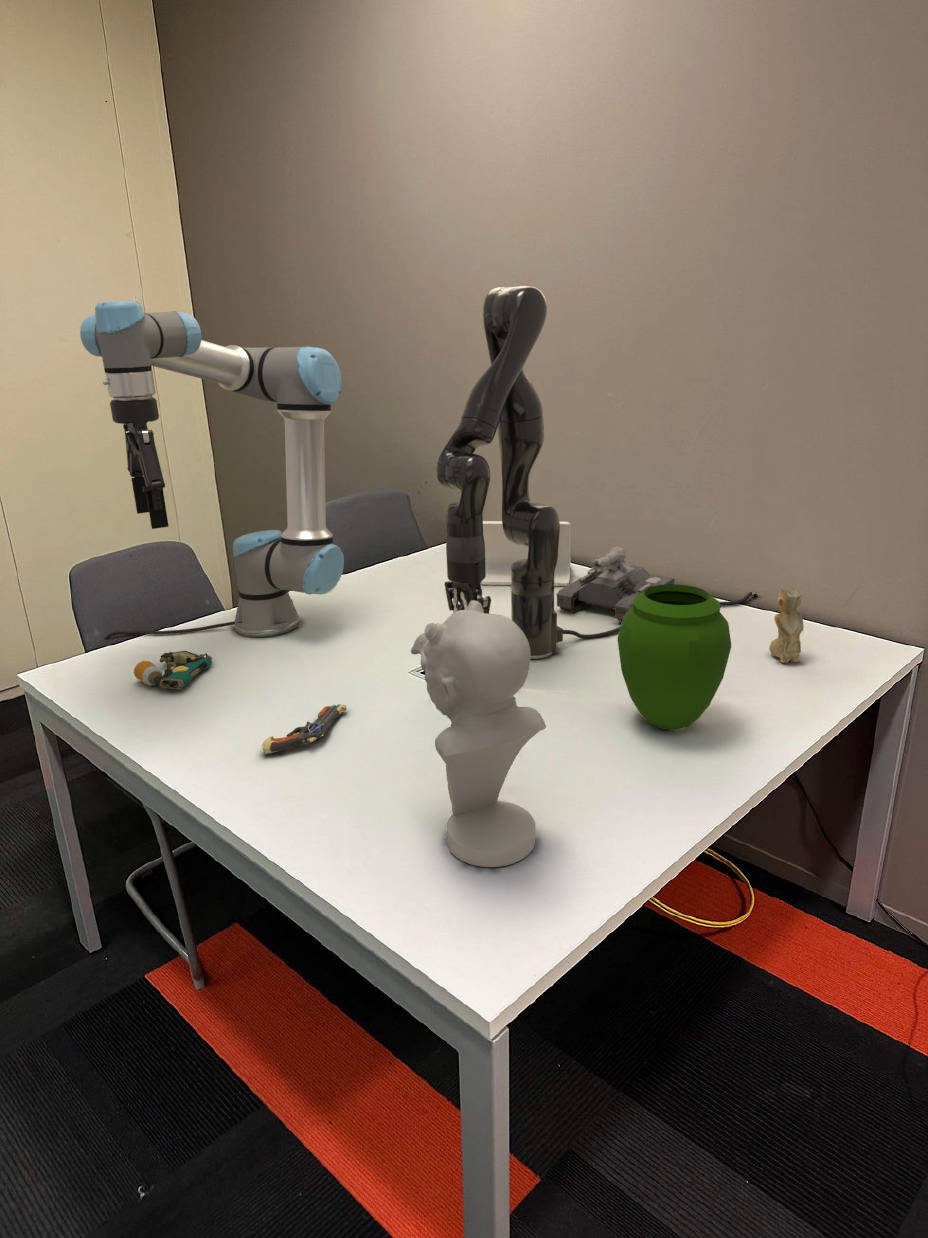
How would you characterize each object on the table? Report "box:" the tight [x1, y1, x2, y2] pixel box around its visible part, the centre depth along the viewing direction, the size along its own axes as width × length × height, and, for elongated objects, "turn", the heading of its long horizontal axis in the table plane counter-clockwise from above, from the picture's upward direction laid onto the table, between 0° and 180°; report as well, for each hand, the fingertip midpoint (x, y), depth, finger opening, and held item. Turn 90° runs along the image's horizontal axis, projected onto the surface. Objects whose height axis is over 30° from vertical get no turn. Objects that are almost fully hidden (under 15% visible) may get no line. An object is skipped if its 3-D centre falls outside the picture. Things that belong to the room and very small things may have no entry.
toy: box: [556, 546, 676, 622], centre depth 212 cm, size 25×20×15 cm
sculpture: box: [768, 587, 805, 664], centre depth 178 cm, size 6×7×15 cm
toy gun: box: [262, 703, 348, 755], centre depth 155 cm, size 3×19×10 cm
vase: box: [616, 583, 732, 731], centre depth 151 cm, size 20×20×24 cm
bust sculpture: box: [410, 600, 547, 868], centre depth 121 cm, size 16×24×35 cm
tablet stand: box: [481, 520, 572, 587], centre depth 236 cm, size 18×25×17 cm
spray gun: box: [133, 650, 213, 690], centre depth 180 cm, size 4×17×15 cm
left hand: (152, 519), depth 153 cm, fingers open, 13 cm apart
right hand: (468, 636), depth 172 cm, fingers closed on block, 4 cm apart
